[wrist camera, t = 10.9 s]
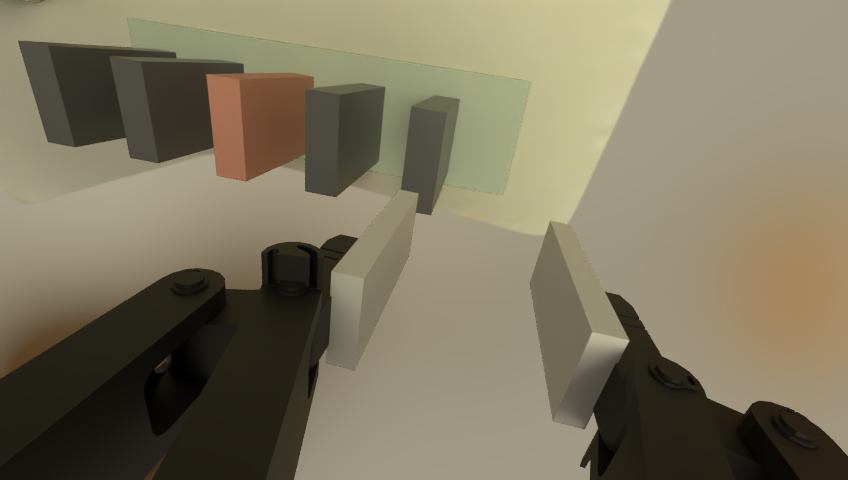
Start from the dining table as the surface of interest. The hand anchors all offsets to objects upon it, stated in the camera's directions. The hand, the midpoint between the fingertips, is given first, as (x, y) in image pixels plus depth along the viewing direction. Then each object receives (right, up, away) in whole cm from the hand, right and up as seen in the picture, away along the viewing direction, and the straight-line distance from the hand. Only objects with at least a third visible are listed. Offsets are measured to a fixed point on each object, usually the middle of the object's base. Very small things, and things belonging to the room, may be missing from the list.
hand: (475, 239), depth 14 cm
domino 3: (-6, +10, +17) cm, 20 cm away
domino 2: (-18, +12, +18) cm, 28 cm away
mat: (-11, +11, +17) cm, 23 cm away
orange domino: (-12, +11, +17) cm, 24 cm away
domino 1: (-24, +13, +18) cm, 33 cm away
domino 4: (-1, +8, +16) cm, 18 cm away
